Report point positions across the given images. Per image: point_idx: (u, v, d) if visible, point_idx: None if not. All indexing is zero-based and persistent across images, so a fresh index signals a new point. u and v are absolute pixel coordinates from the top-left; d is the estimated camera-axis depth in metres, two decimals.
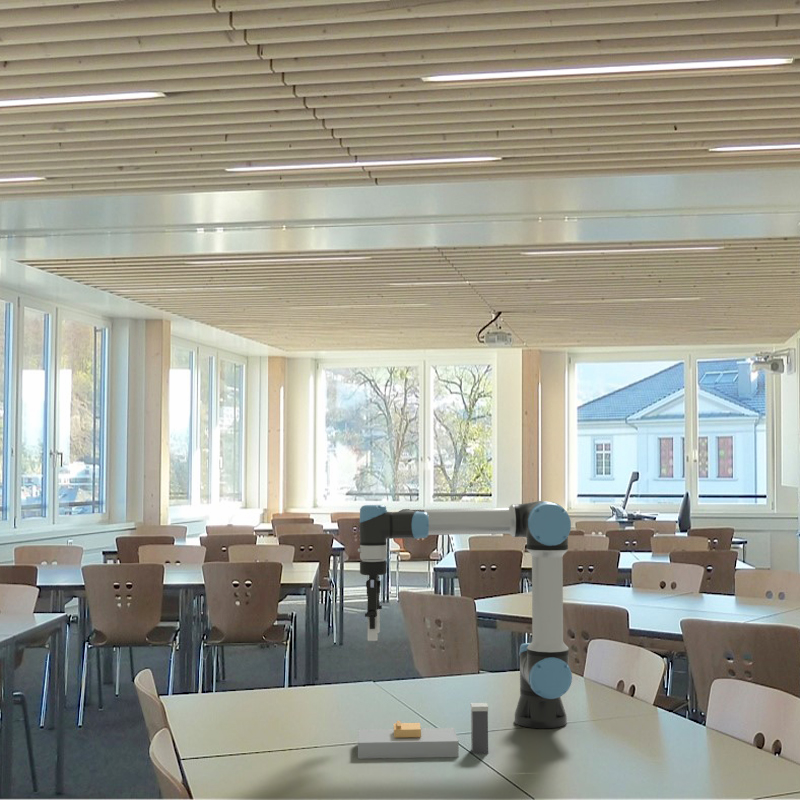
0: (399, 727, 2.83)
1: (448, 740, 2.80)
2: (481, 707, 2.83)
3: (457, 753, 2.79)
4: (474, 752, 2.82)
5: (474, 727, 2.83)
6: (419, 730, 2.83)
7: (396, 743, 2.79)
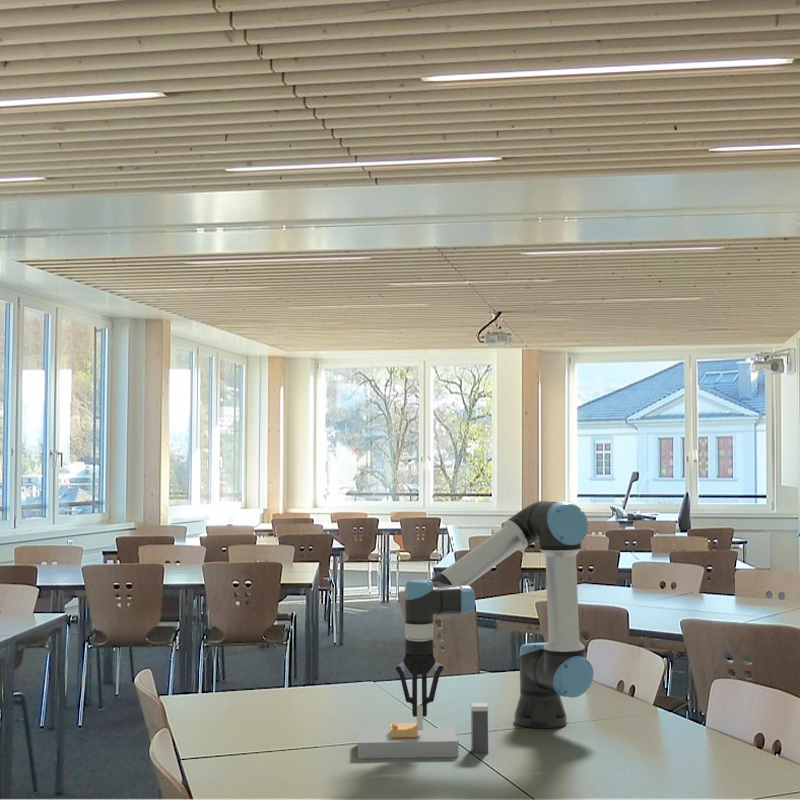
0: (395, 727, 2.83)
1: (448, 740, 2.80)
2: (481, 707, 2.83)
3: (457, 753, 2.79)
4: (474, 752, 2.82)
5: (474, 727, 2.83)
6: (415, 730, 2.83)
7: (396, 743, 2.79)
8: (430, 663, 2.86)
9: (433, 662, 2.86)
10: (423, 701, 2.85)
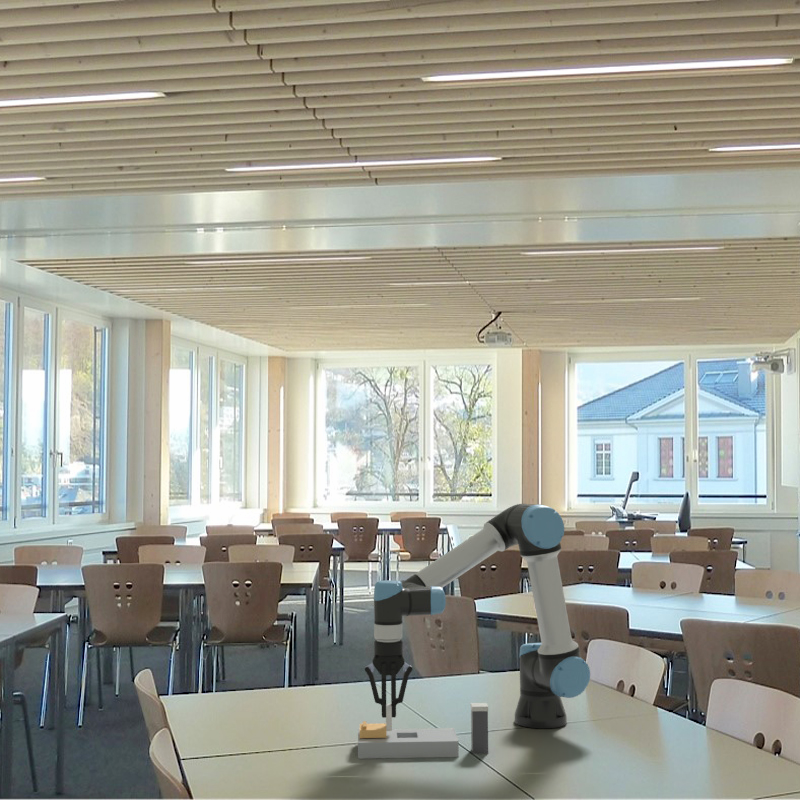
0: (364, 728, 2.83)
1: (448, 740, 2.80)
2: (481, 707, 2.83)
3: (457, 753, 2.79)
4: (474, 752, 2.82)
5: (474, 727, 2.83)
6: (384, 731, 2.83)
7: (396, 743, 2.79)
8: (399, 664, 2.86)
9: (402, 663, 2.86)
10: (392, 702, 2.85)
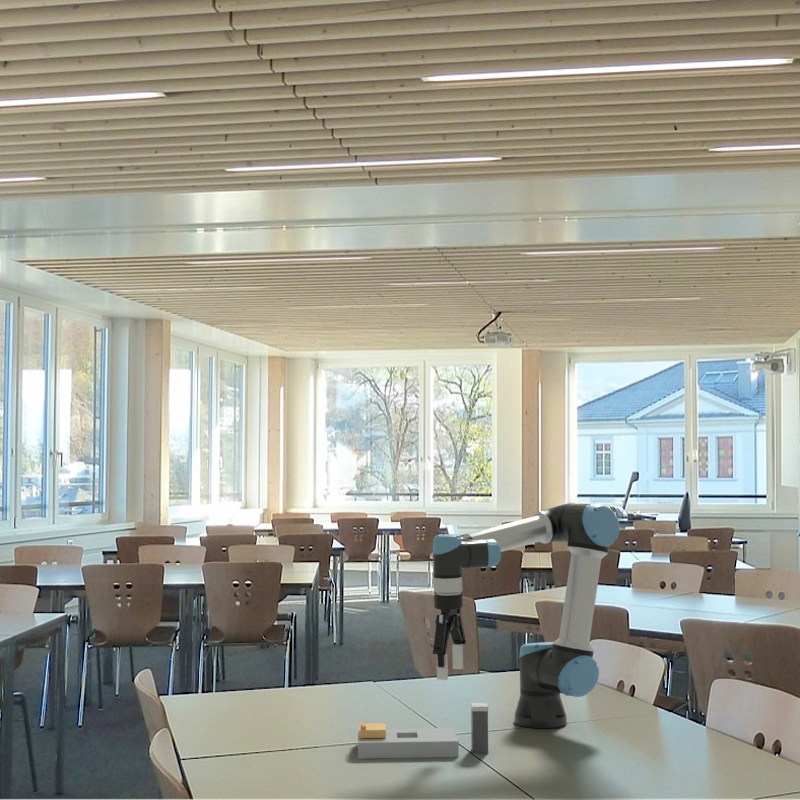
0: (364, 728, 2.83)
1: (448, 740, 2.80)
2: (481, 707, 2.83)
3: (457, 753, 2.79)
4: (474, 752, 2.82)
5: (474, 727, 2.83)
6: (384, 731, 2.83)
7: (396, 743, 2.79)
8: (456, 615, 2.90)
9: (456, 612, 2.90)
10: (462, 641, 2.93)
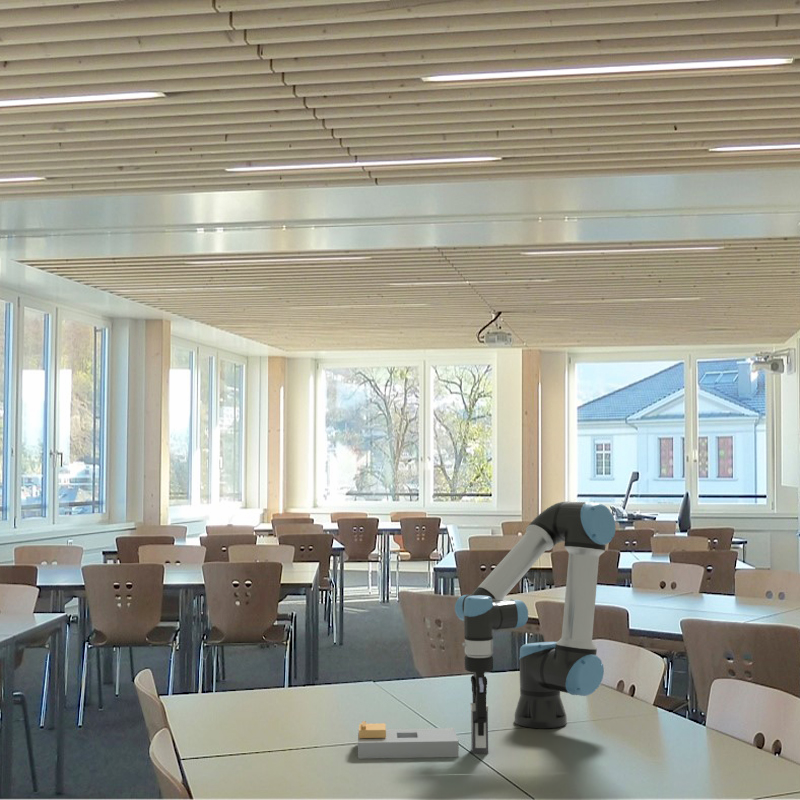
0: (364, 728, 2.83)
1: (448, 740, 2.80)
2: None
3: (457, 753, 2.79)
4: (474, 752, 2.82)
5: (474, 727, 2.83)
6: (384, 731, 2.83)
7: (396, 743, 2.79)
8: None
9: None
10: None
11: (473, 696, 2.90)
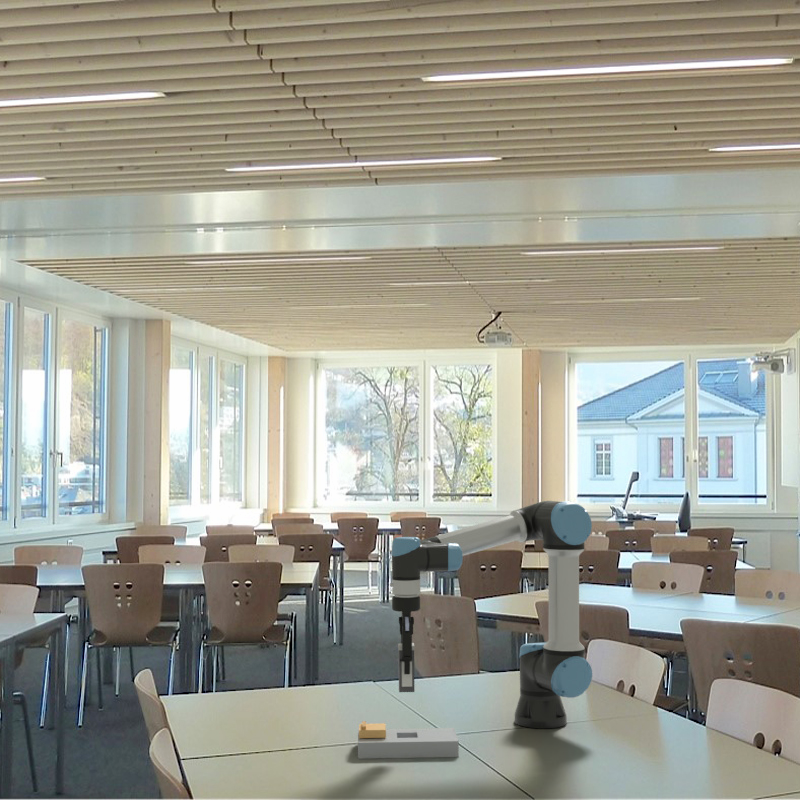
0: (364, 728, 2.83)
1: (448, 740, 2.80)
2: None
3: (457, 753, 2.79)
4: (400, 691, 2.85)
5: (400, 666, 2.85)
6: (384, 731, 2.83)
7: (396, 743, 2.79)
8: None
9: None
10: None
11: (401, 637, 2.92)
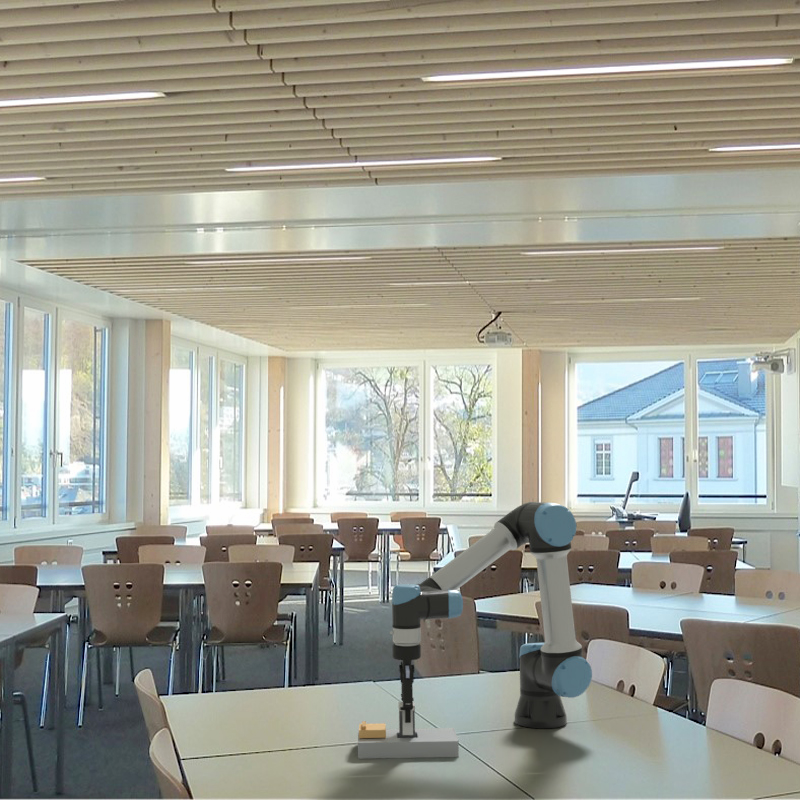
0: (364, 728, 2.83)
1: (448, 740, 2.80)
2: None
3: (457, 753, 2.79)
4: None
5: (401, 726, 2.84)
6: (384, 731, 2.83)
7: (396, 743, 2.79)
8: None
9: None
10: None
11: None
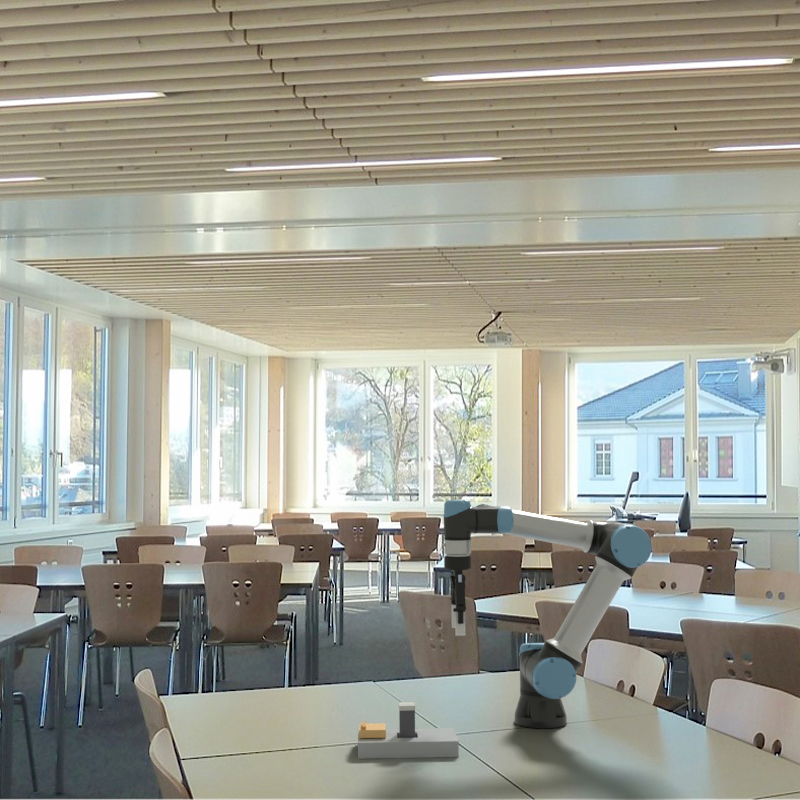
0: (364, 728, 2.83)
1: (448, 740, 2.80)
2: (408, 706, 2.85)
3: (457, 753, 2.79)
4: None
5: (401, 726, 2.84)
6: (384, 731, 2.83)
7: (396, 743, 2.79)
8: None
9: None
10: None
11: (452, 589, 3.10)
